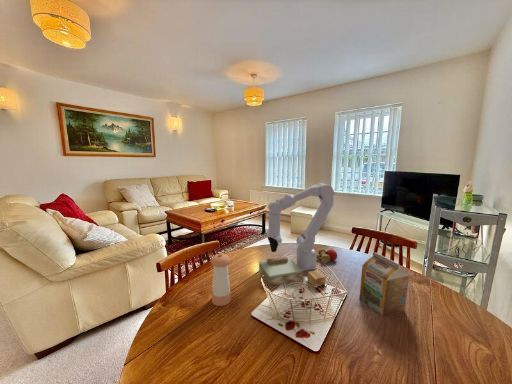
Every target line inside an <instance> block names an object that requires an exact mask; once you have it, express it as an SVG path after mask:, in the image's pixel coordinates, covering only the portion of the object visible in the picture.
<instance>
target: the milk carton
mask: <svg viewBox="0 0 512 384" xmlns="http://www.w3.org/2000/svg"><path fill="white" fill-rule="evenodd" d="M400 266H401V265H400V263H398V262H396V261H394V260H392V259H390V258H388V257H385V256H384V255H381V254H379V253H378V252H373V255H372V256H371V257H369V258H368V259H367V260H366V261H364V263H363V264H362V266H361V267H362V268H361V276H360V277H361V279H360V289H359V300H360V299H361V300H360V301H362V302H363V303H364V304H366V306H368V307H369V308H371V309H372V310H373V311H374V312H375V313H377V314H378V315H379V316H380V317H381V318H385V317H388V316H391V315H396V314H400V313H403V312H405V311H406V304H407V296H408V287H409V280H410V275H409V274H408V272H406V271H405V269H404V270H403V269H401V267H400ZM402 311H403V312H402ZM399 312H400V313H399Z"/></svg>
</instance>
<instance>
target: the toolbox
mask: <svg viewBox="0 0 512 384" xmlns="http://www.w3.org/2000/svg"><path fill="white" fill-rule="evenodd" d="M258 271H259V273H260V274H261V276H262V275H264V277H263V279H264V281H265V282H266V284H267V285H268V287H272V286H278V285H283V284H290V283H296V282H301V280H302V281H303V272H302V273H298V274H292V275H286V276H280V277H274V278H269V277H268V276H267V274H266V273H265V271H264V270H263V268H262V267H261V265H260V263H259V266H258Z"/></svg>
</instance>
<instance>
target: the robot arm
mask: <svg viewBox="0 0 512 384" xmlns="http://www.w3.org/2000/svg"><path fill="white" fill-rule="evenodd" d="M334 195H335V191H334V188H333V187H332V186H331V185H330V184H326V183H324V182H318V183H316V184H313V185H310V186H309V187H307V188H305V189H303V190H301V191H299V192H297V193H294V195H293V194H290V193H289V194H285V195H284V196H283V197H281V198H276V201H275V200H273V201H270V202H269V204H268V207H267V208H268V210H269V211H268V229H266V230H267V231H266V232H267V233H266V234H265V236H266V237H267V241H268V242H269V247H270V251H271V253H276V252H277V249H278V246H279V244H282V243H283V239H282V237H281V213H282V211H284V210H287V209H289V208H291V207H293V206H295V204H296V203H297V202H299V201H301V200H303V199H305V198H309V197H310V196H313V197H318V199H319V201H320V205H319V206H318V208H317V209H316V211H315V213H314V215H313V217H312V218H311V221H310V222H309V224H308V225H307V227H306V229H305V230H304V231H302V233H301V234H300V235H298V236H297V237H296V244H297V248H296V249H297V250H296V262H294V263H295V264H296V265H297V266H298V267H299V268H300V269H301V270H302V272H305V271H310V270H311V271H313V270H318V267H317V259H318V258H317V255H318V254H317V252H316V250H315V249H314V244H315V243H316V235H317V234H318V232H319V230H320V229H321V227H322V226H323V224H324V222H325V220H326V219H327V216H328V215H329V214H330V211H331V210H332V208H333V206H334V197H335V196H334Z"/></svg>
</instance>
